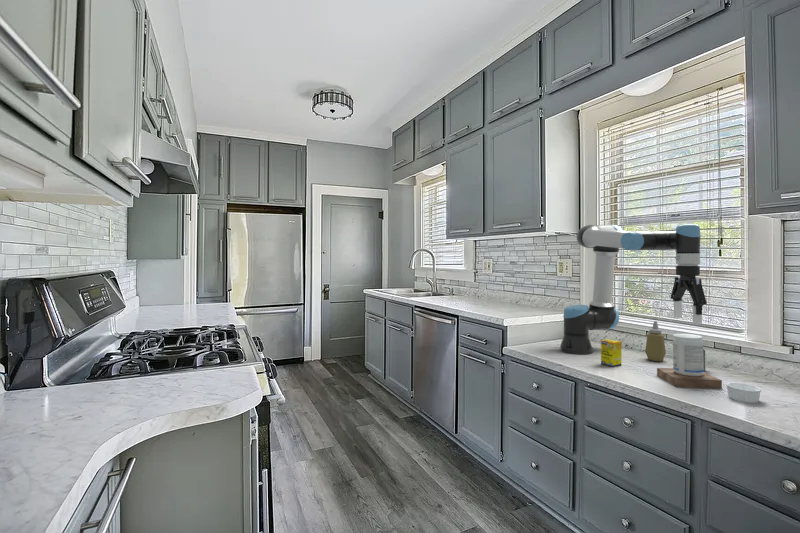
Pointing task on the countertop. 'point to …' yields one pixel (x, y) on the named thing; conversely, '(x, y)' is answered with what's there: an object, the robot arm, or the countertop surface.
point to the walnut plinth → (689, 379)
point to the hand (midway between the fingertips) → (687, 320)
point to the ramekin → (743, 392)
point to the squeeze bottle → (655, 344)
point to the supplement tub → (688, 354)
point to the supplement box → (611, 352)
